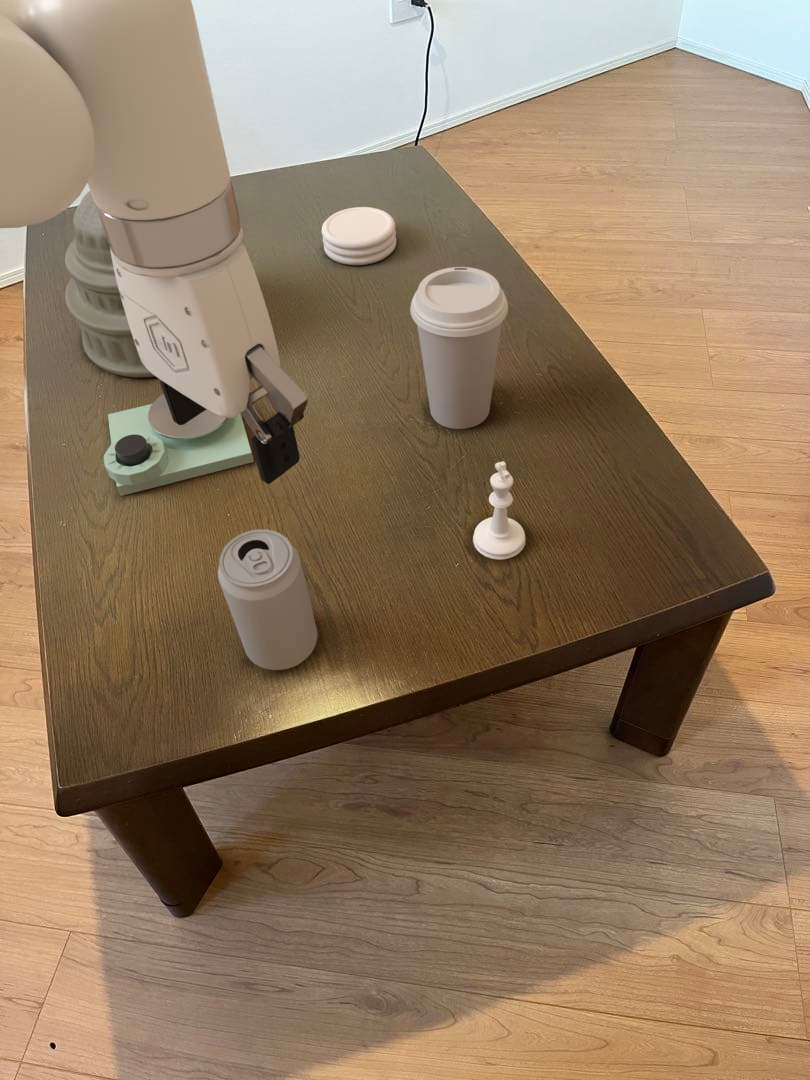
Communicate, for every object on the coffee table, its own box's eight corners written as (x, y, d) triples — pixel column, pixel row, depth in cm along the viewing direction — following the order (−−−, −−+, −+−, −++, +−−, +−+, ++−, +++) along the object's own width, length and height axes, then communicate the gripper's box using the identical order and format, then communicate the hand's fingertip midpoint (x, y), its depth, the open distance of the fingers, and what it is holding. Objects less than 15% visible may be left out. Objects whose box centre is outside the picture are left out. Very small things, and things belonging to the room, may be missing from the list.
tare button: (120, 470, 84) (115, 458, 83) (118, 449, 86) (113, 438, 85) (152, 462, 84) (147, 450, 83) (149, 442, 87) (144, 430, 85)
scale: (115, 501, 85) (106, 480, 83) (106, 424, 93) (97, 404, 91) (255, 465, 87) (249, 444, 85) (234, 394, 95) (229, 372, 93)
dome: (211, 144, 81) (-3, 186, 77) (260, 355, 100) (90, 396, 96) (181, 72, 93) (-3, 106, 90) (230, 271, 112) (79, 305, 109)
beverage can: (302, 603, 75) (280, 513, 66) (330, 656, 71) (310, 568, 62) (235, 631, 73) (203, 542, 64) (260, 687, 69) (229, 601, 60)
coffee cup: (517, 395, 92) (524, 274, 81) (481, 449, 87) (483, 327, 75) (440, 373, 95) (436, 254, 84) (400, 423, 90) (391, 304, 79)
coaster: (310, 256, 114) (306, 232, 111) (350, 222, 119) (348, 199, 116) (371, 274, 110) (368, 249, 107) (410, 238, 115) (408, 214, 113)
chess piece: (490, 567, 76) (492, 491, 69) (463, 532, 79) (463, 456, 72) (535, 546, 78) (542, 470, 70) (507, 513, 81) (511, 436, 73)
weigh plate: (153, 448, 85) (152, 446, 85) (144, 395, 91) (143, 393, 91) (239, 427, 87) (239, 424, 86) (225, 376, 92) (224, 374, 92)
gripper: (33, 202, 50) (123, 420, 62) (218, 301, 41) (278, 528, 54) (135, 154, 53) (201, 370, 66) (325, 237, 45) (357, 465, 58)
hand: (235, 441), depth 60 cm, fingers open, 9 cm apart
